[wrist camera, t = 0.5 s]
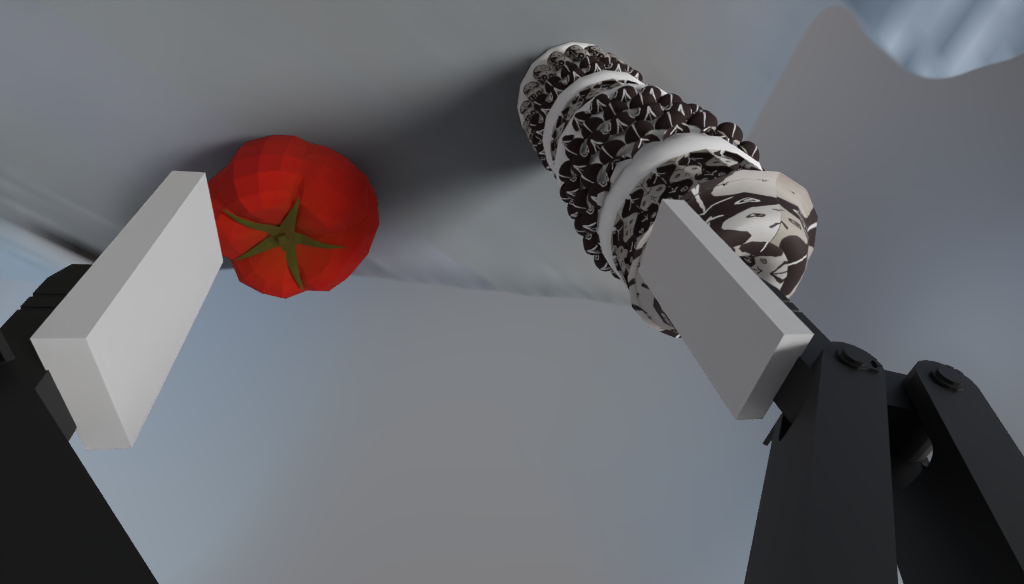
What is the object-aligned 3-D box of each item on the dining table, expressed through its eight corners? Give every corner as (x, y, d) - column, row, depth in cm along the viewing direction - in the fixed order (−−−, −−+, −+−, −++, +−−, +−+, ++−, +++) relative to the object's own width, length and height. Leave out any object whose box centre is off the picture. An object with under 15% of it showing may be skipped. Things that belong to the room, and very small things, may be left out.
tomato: (394, 235, 44) (393, 298, 37) (248, 259, 43) (219, 329, 36) (361, 108, 38) (353, 154, 31) (190, 133, 37) (140, 186, 30)
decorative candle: (535, 16, 37) (703, 140, 17) (648, 58, 40) (904, 205, 20) (495, 140, 41) (589, 354, 21) (599, 169, 44) (766, 380, 24)
